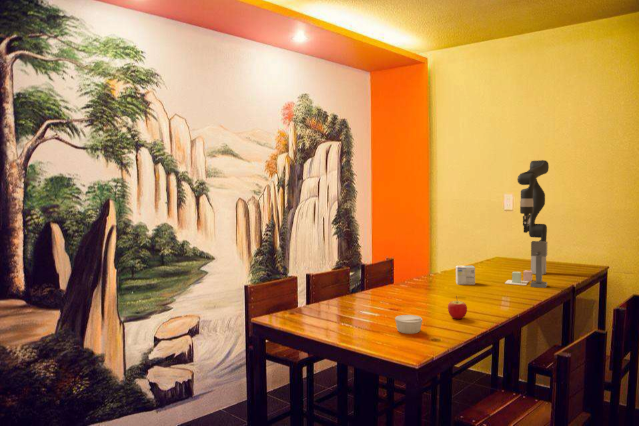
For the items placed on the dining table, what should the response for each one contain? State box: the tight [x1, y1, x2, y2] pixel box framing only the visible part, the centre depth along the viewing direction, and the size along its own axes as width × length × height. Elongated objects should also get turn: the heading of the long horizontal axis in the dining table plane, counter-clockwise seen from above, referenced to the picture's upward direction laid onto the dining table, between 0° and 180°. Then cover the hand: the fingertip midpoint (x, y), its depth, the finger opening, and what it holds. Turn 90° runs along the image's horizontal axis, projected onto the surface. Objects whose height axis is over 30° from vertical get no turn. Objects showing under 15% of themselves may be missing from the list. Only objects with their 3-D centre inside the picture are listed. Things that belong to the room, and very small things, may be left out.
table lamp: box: [530, 240, 548, 289], centre depth 293 cm, size 10×8×26 cm
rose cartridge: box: [522, 269, 533, 282], centre depth 311 cm, size 4×4×6 cm
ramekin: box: [394, 314, 423, 335], centre depth 208 cm, size 11×11×5 cm
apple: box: [447, 295, 468, 320], centre depth 226 cm, size 8×8×10 cm
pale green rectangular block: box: [511, 271, 522, 283], centre depth 305 cm, size 4×4×6 cm
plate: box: [504, 279, 530, 286], centre depth 305 cm, size 12×12×1 cm
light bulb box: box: [455, 265, 476, 286], centre depth 304 cm, size 11×7×11 cm, turn 84°
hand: (526, 232), depth 311 cm, fingers open, 8 cm apart
